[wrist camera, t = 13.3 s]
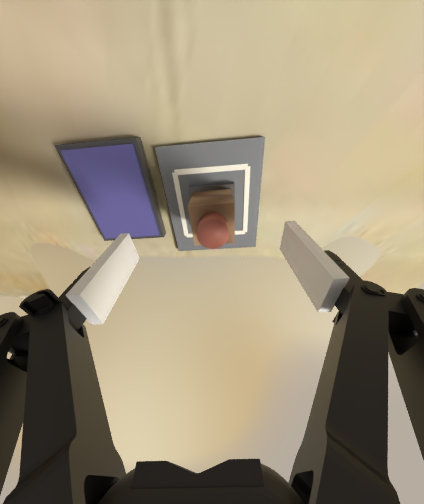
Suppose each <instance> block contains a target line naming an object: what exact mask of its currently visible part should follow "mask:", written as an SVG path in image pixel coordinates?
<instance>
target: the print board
mask: <svg viewBox="0 0 424 504" xmlns="http://www.w3.org/2000/svg"><path fill="white" fill-rule="evenodd" d="M264 142H265V137H257V138H246V139H235V140H224V141H213V142H202V143H192V144H181V145H170V146H159V147H155V151H156V155H157V160H158V164H159V168H160V172H161V177H162V181H163V185H164V190H165V194H166V198H167V202H168V207H169V211H170V215H171V220H172V224H173V228H174V233H175V237H176V241H177V245H178V250H179V251H188V250H205V249H209V248H206V247H204V246H202V245H196V246H194V240H193V235H192V229H191V223H190V217H189V211H188V204H189V202H190V195H189V189H188V188H189V186H193V185H205V184H216V183H228V182H234V184H235V243H227V244H224V245H223V246H222V247H220V248H216V249H223V248H241V247H255V246H256V234H257V223H258V211H259V200H260V188H261V177H262V165H263V154H264Z"/></svg>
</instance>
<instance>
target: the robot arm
mask: <svg viewBox="0 0 424 504" xmlns="http://www.w3.org/2000/svg"><path fill="white" fill-rule="evenodd" d="M280 250H281V252H282V253H283V255H284V257H285V258H286V260H287V262H288V263H289V265H290V267H291V268H292V270H293V272H294V273H295V275H296V277H297V278H298V280H299V282H300V283H301V285H302V287H303V288H304V290H305V291H306V293H307V295H308V297H309V298H310V300H311V301H312V303H313V305H314V307H315V308H316V310H317V311H318V312H331V310H332V309H333V307H334V306H336V307H337V309H338V310H339V312H338V313H337V315H336V317H335V318H334V320H333V322H334V327H333V331H332V334H331V338H330V342H329V346H328V350H327V353H326V357H325V360H324V364H323V368H322V372H321V375H320V379H319V383H318V387H317V391H316V394H315V398H314V401H313V405H312V409H311V413H310V416H309V420H308V424H307V428H306V431H305V435H304V438H303V442H302V444H301V446H300V449H299V451H298V453H297V456H296V459H295V462H294V465H293V469H292V472H291V476H290V480H289V483H288V482H287V481H286V480H285V479H284V478H283V477H282V476H280V475H279V474H278V473H277V472H275V471H274V470H272V469H271V468H269V467H267V466H265V465H263V464H261V463H260V459H232V460H227V461H225V462H223V463H220V464H218V465H216V466H214V467H212V468H210V469H207V470H205V471H203V472H201V473H195V472H192V471H190V470H188V469H185V468H183V467H181V466H178V465H176V464H173V463H170V462H168V461H145V462H137V463H136V467H135V469H133V470H132V471H130V472H129V473H127V474H126V472H125V469H124V465H123V462H122V460H121V457H120V456H119V454H118V452H117V451H116V449H115V447H114V444H113V441H112V437H111V432H110V428H109V424H108V420H107V416H106V411H105V407H104V403H103V399H102V395H101V391H100V387H99V382H98V378H97V374H96V369H95V365H94V361H93V357H92V353H91V349H90V344H89V340H88V336H87V332H86V328H85V326H84V325H83V323H84V322H85V320H86V319H87V320H88V321H89V322H90V324H91V325H92V324H103V323H104V321H105V319H106V318H107V316H108V314H109V313H110V311H111V309H112V307H113V305H114V304H115V302H116V300H117V298H118V296H119V295H120V293H121V291H122V289H123V288H124V286H125V284H126V282H127V280H128V279H129V277H130V275H131V273H132V271H133V270H134V268H135V266H136V264H137V262H138V261H139V259H140V258H139V256H138V254H137V251H136V249H135V246H134V244H133V242H132V239H131V237H130V234H129V233H124V234H120V235H119V236H118V237H117V238H116V239H115V240H114V241H113V242H112V244H111V245H110V246H109V247H108V248H107V249H106V250H105V251H104V253H103V254H102V255H101V256H100V257H99V258H98V259H97V260H96V262H95V263H94V264H93V265H92V266H91V267H89V268H87V269H86V270H85V271H83V272H82V273H81V274H80V275H79V276H78V277H77V279H75V280H74V281H73V283H72V284H71V285H70V286H69V287H68V288H67V289H66V290H65V291H64V292H63V293H62V295H61V296H60V297H59V298H58V297H57V296H56V295H55V294H54V293H53V292H52V291H51V290H49V289H45V290H41V291H38V292H36V293H34V294H32V295H30V296H28V297H27V298H26V299H24V300H23V301H22V302H21V304H20V306H19V307H20V308H21V309H23V310H24V311H25V312H26V313H27V314H29V315H26V316H22V317H20V316H18V315H17V314H16V313H14V312H9V313H5V314H3V315H0V494H1V491H2V488H3V485H4V481H5V478H6V475H7V472H8V468H9V465H10V462H11V459H12V456H13V453H14V449H15V446H16V443H17V440H18V437H19V433H20V430H21V427H22V424H23V435H22V449H21V463H20V477H19V481H18V483H17V486H16V488H15V489H14V490H13V491H12V492H11V493H10V494H9V495H8V496H7V497H6V499H5V501H4V503H3V504H400V502H399V498H398V495H397V492H396V490H395V489H394V487H393V485H392V484H391V482H390V480H389V477H388V469H387V451H388V445H387V444H388V443H387V442H388V441H387V440H388V438H387V437H388V352H389V355H390V358H391V361H392V364H393V367H394V370H395V373H396V376H397V379H398V382H399V386H400V389H401V392H402V395H403V398H404V401H405V404H406V407H407V410H408V413H409V416H410V420H411V423H412V426H413V429H414V432H415V435H416V438H417V441H418V444H419V447H420V450H421V454H422V457H423V460H424V290H423V289H417V288H412V289H409V290H408V291H407V292H406V293H405V294H404V295H403V294H397V293H391V292H387V291H386V290H385V289H384V288H382V287H381V286H379V285H377V284H375V283H373V282H369V281H363V280H362V279H361V278H360V277H359V276H358V275H357V274H356V273H355V272H354V271H353V270H352V269H351V268H350V267H348V266H347V265H346V264H345V263H344V262H343V261H342V260H341V259H340V258H339V257H338V256H337V255H335V254H334V253H332V252H330V251H323V250H322V249H321V248H320V247H319V246H318V245H317V243H316V242H315V241H314V240H313V239H312V238H311V237H310V236H309V235H308V234H307V233H306V232H305V231H304V230H303V229H302V228H301V227H300V226H299V225H298V224H297V223H296V222H295V221H286V222H285V225H284V231H283V236H282V241H281V246H280ZM8 352H10V353H12V356H11V358H10V359H7V353H8Z"/></svg>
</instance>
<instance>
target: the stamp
mask: <svg viewBox="0 0 424 504" xmlns="http://www.w3.org/2000/svg"><path fill="white" fill-rule="evenodd" d="M188 189H189V195H190V202H189V204H188V211H189V217H190V223H191V229H192V235H193V240H194V246H196V245H202V246H204V247H206V248H209V249H216V248H220V247H222V246H223V245H224V244H227V243H235V184H234V182H228V183H216V184H205V185H193V186H189V188H188Z"/></svg>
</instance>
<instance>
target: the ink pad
mask: <svg viewBox="0 0 424 504" xmlns="http://www.w3.org/2000/svg"><path fill="white" fill-rule="evenodd" d="M55 147H56V149H57V150H58V152H59V154H60V156H61V158H62V160H63V162H64V164H65V166H66V168H67V170H68V172H69V173H70V175H71V177H72V179H73V181H74V183H75V185H76V187H77V189H78V191H79V193H80V195H81V196H82V198H83V200H84V202H85V204H86V206H87V208H88V210H89V212H90V214H91V216H92V218H93V220H94V221H95V223H96V225H97V227H98V229H99V231H100V233H101V235H102V237H103V239H104V241H108V240H115V239H116V238H117V237H118V236H119V235H120V234H124V233H129V234H130V237H131V239H141V238H157V237H164V236H165V234H166V231H165V228H164V224H163V220H162V216H161V213H160V209H159V205H158V201H157V198H156V194H155V190H154V186H153V183H152V179H151V175H150V171H149V168H148V164H147V160H146V156H145V153H144V149H143V145H142V141H141V138H140V137H136V138H126V139H115V140H105V141H94V142H84V143H73V144H63V145H55Z"/></svg>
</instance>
